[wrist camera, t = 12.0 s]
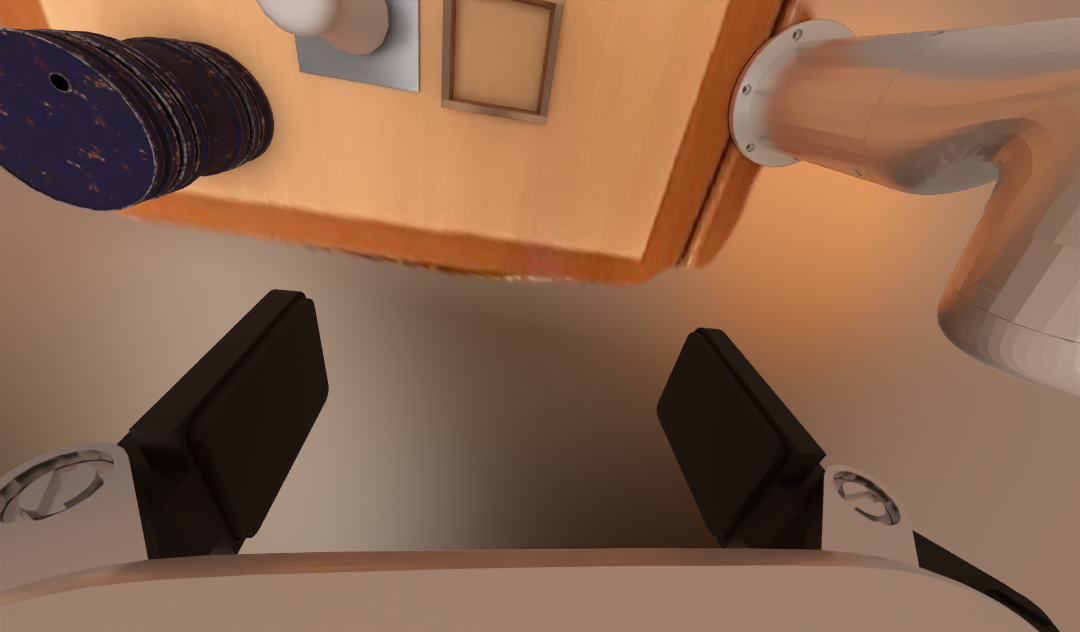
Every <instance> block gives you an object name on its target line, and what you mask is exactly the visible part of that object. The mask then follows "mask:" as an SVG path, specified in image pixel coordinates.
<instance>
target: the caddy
mask: <svg viewBox="0 0 1080 632" xmlns="http://www.w3.org/2000/svg"><path fill="white" fill-rule="evenodd" d="M514 1H518V2H523V3H528V4H532V5H537V6H541V7H546V8H551V13H550V20H549V28H548V35H547V42H546V49H545V57H544V64H543V71H542V78H541V86H540V93H539V100H538V107H537V112H534V111H528V110H522V109H516V108H510V107H505V106H499V105H493V104H487V103H481V102H476V101H470V100H464V99H458V98H453V76H454V47H455V18H456V0H444V2H443V50H442V98H441V107H444V108H450V109H456V110H462V111H468V112H474V113H480V114H486V115H492V116H498V117H504V118H510V119H516V120H522V121H527V122H533V123H539V124H546V117H547V111H548V104H549V97H550V91H551V84H552V78H553V71H554V64H555V58H556V51H557V44H558V38H559V31H560V25H561V18H562V11H563V5H564V0H514Z"/></svg>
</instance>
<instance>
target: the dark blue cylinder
mask: <svg viewBox="0 0 1080 632" xmlns="http://www.w3.org/2000/svg"><path fill="white" fill-rule="evenodd" d="M273 132H274V120H273V114H272V110H271V107H270V104H269V101H268V99H267V97H266V95H265V93H264V91H263V90H262V88H261V86H260V85H259V83H258V82H257V81H256V79H255V78H254V77H253V76H252V75H251V73H250V72H249V71H248V70H247V69H246V68H245V67H244V66H243V65H241V64H240V63H239V62H238V61H237V60H235V59H234V58H232V57H231V56H229V55H228V54H226V53H225V52H223V51H221V50H219V49H217V48H214V47H212V46H209V45H206V44H202V43H197V42H185V41H181V40H177V39H169V38H157V37H137V38H129V39H125V40H122V41H120V40H117V39H114V38H112V37H107V36H104V35H101V34H96V33H92V32H84V31H66V30H53V29H34V30H22V29H9V28H0V167H2V168H3V169H4V170H5V171H6V172H8V173H9V174H11V175H12V176H13V177H15V178H16V179H18V180H19V181H20V182H22V183H23V184H25V185H27V186H29V187H31V188H32V189H34V190H35V191H37V192H39V193H41V194H43V195H45V196H48V197H49V198H52V199H54V200H57V201H59V202H62V203H65V204H67V205H71V206H75V207H79V208H82V209H88V210H95V211H114V210H121V209H125V208H128V207H131V206H133V205H136V204H139V203H141V202H143V201H146V200H152V199H155V198H159V197H162V196H164V195H167V194H169V193H172V192H174V191H177V190H180V189H183V188H185V187H186V186H188V185H190V184H191V183H192V182H194V181H195V180H196V179H197V178H198V177H200V176H209V175H214V174H219V173H222V172H225V171H228V170H231V169H234V168H237V167H239V166H241V165H243V164H245V163H246V162H248V161H251V160H253V159H255V158H257V157H259V156H260V155H262V154H263V153H264V152H265V151H266V149H267V148H268V147H269V145H270V143H271V140H272V137H273Z"/></svg>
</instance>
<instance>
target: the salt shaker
mask: <svg viewBox="0 0 1080 632" xmlns="http://www.w3.org/2000/svg"><path fill="white" fill-rule="evenodd" d="M257 2H258V4H259V5H260V7H261V9H262V11H263V12H264V13H265V14H266V15H267V16H268V17H269V18H270V19H271V20H272V21H273V22H274V23H275V24H276V25H277V26H278V27H279V28H281V29H283V30H284V31H287V32H290V33H292V34H295V35H297V36H300V37H320V38H322V39H323V40H325V41H326V42H328V43H329V44H331V45H332V46H334V47H335V48H337V49H339V50H342V51H344V52H347V53H349V54H352V55H359V54H370V53H371V52H372V51H373V50H375V49H376V48H377V47H378V46H380V45H381V44H382V43H383V40H384V38H385V35H386V33H387V30H388V28H389V24H388V9H387V5H386V3H385V0H257Z"/></svg>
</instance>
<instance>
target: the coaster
mask: <svg viewBox="0 0 1080 632" xmlns="http://www.w3.org/2000/svg"><path fill="white" fill-rule="evenodd" d="M385 3H386V5H387V9H388V24H389V28H388V30H387V33H386V35H385V38H384V40H383V43H382V44H381V45H380V46H378V47H377V48H376V49H375V50H373V51H372V52H371V53H370V54H359V55H352V54H349V53H347V52H344V51H342V50H339V49H337V48H335V47H334V46H332V45H331V44H329V43H328V42H326V41H325V40H323V39H322V38H320V37H300V36H297V35H295V41H296V48H297V55H298V62H299V69H300V72H304V73H310V74H316V75H322V76H327V77H333V78H339V79H345V80H351V81H356V82H362V83H368V84H374V85H380V86H385V87H391V88H397V89H403V90H409V91H414V92H420V52H419V0H385Z"/></svg>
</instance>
